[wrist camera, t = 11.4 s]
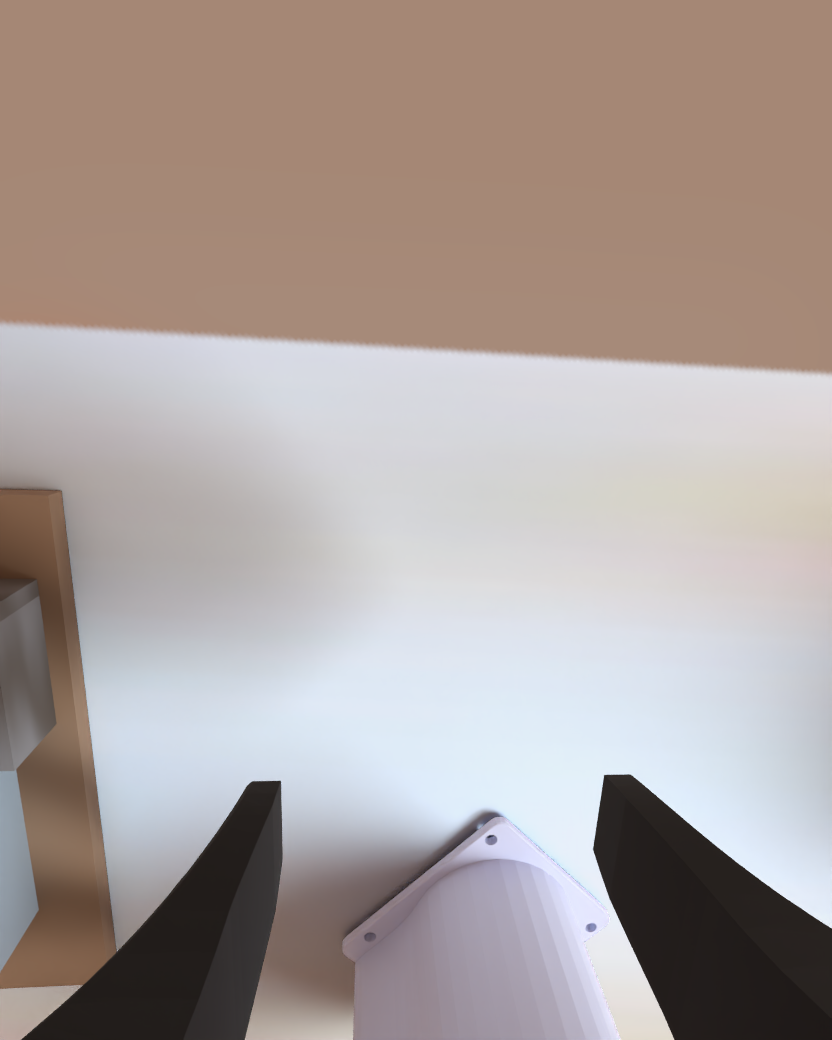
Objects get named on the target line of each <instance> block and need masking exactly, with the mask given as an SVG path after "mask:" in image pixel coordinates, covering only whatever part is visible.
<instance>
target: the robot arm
mask: <svg viewBox="0 0 832 1040" xmlns="http://www.w3.org/2000/svg"><path fill="white" fill-rule="evenodd" d="M489 835H494V836H493V837H491V838H487V836H489ZM593 850H594V854H595V857H596V860H597V863H598V866H599V869H600V872H601V875H602V878H603V881H604V884H605V887H606V890H607V892H608V895H609V898H610V900H611V903H612V905H613V907H614V909H615V912H616V914H617V916H618V918H619V920H620V922H621V925H622V927H623V929H624V931H625V933H626V935H627V938H628V940H629V942H630V944H631V946H632V948H633V950H634V952H635V955H636V957H637V959H638V961H639V963H640V965H641V967H642V969H643V972H644V974H645V976H646V978H647V980H648V982H649V984H650V986H651V989H652V991H653V993H654V995H655V997H656V999H657V1001H658V1003H659V1006H660V1008H661V1010H662V1012H663V1014H664V1016H665V1019H666V1021H667V1023H668V1026H669V1028H670V1030H671V1033H672V1035H673V1037H674V1040H832V929H831V928H830V927H828V926H827V925H825V924H823V923H822V922H820V921H819V920H817V919H816V918H814V917H813V916H811V915H810V914H808V913H807V912H805V911H804V910H802V909H801V908H799V907H798V906H796V905H795V904H793V903H792V902H790V901H789V900H787V899H786V898H784V897H783V896H781V895H780V894H779V893H777V892H776V891H774V890H773V889H772V888H770V887H769V886H767V885H766V884H765V883H763V882H762V881H761V880H759V879H758V878H757V877H755V876H754V875H753V874H751V873H750V872H749V871H747V870H746V869H745V868H743V867H742V866H741V865H739V864H738V863H737V862H735V861H734V860H733V859H732V858H730V857H729V856H728V855H727V854H725V853H724V852H723V851H722V850H720V849H719V848H718V847H717V846H715V845H714V844H713V843H712V842H710V841H709V840H708V839H707V838H705V837H704V836H703V835H702V834H701V833H699V832H698V831H697V830H696V829H695V828H693V827H692V826H691V825H690V824H689V823H687V822H686V821H685V820H684V819H683V818H682V817H680V816H679V815H678V814H677V813H676V812H674V811H673V810H672V809H671V808H670V807H669V806H667V805H666V804H665V803H664V802H663V801H662V800H660V799H659V798H658V797H657V796H656V795H655V794H653V793H652V792H651V791H650V790H649V789H648V788H646V787H645V786H644V785H643V784H642V783H640V782H639V781H638V780H637V779H635V778H634V777H633V776H632V775H604V781H603V787H602V794H601V801H600V807H599V814H598V821H597V827H596V834H595V840H594V847H593ZM281 866H282V811H281V781H253V782H251V783H250V784H249V785H248V786H247V787H246V788H245V790H244V792H243V794H242V795H241V797H240V798H239V800H238V802H237V803H236V805H235V806H234V808H233V809H232V811H231V812H230V814H229V815H228V817H227V818H226V820H225V821H224V823H223V824H222V826H221V827H220V829H219V830H218V832H217V833H216V834H215V836H214V837H213V838H212V840H211V841H210V843H209V844H208V845H207V847H206V848H205V849H204V851H203V852H202V853H201V855H200V856H199V858H198V859H197V860H196V862H195V863H194V864H193V865H192V867H191V868H190V869H189V871H188V872H187V873H186V874H185V875H184V877H183V878H182V879H181V880H180V882H179V883H178V884H177V885H176V886H175V888H174V889H173V890H172V891H171V893H170V894H169V895H168V896H167V898H166V899H165V900H164V901H163V902H162V904H161V905H160V906H159V907H158V908H157V909H156V910H155V912H154V913H153V914H152V915H151V916H150V917H149V918H148V919H147V921H146V922H145V923H144V924H143V925H142V926H141V927H140V928H139V929H138V930H137V931H136V933H135V934H134V935H133V936H132V937H131V938H130V939H129V940H128V941H127V942H126V943H125V944H124V945H123V946H122V947H121V948H120V949H119V950H118V951H117V952H116V953H115V954H114V955H113V956H112V957H111V958H110V959H109V960H108V961H107V962H106V963H105V964H104V965H103V966H102V967H101V968H100V969H99V970H98V971H97V972H96V973H95V974H94V975H93V976H92V977H91V978H90V979H89V980H88V981H87V982H86V983H85V984H84V985H83V986H82V987H81V988H80V989H78V990H77V991H76V992H75V993H74V994H73V995H72V996H71V997H70V998H69V999H68V1000H67V1001H65V1002H64V1003H63V1004H62V1005H61V1006H60V1007H59V1008H57V1009H56V1010H55V1011H54V1012H53V1013H52V1014H50V1015H49V1016H48V1017H47V1018H46V1019H45V1020H44V1021H42V1022H41V1023H40V1024H39V1025H38V1026H37V1027H35V1028H34V1029H33V1030H32V1031H31V1032H30V1033H28V1034H27V1035H26V1036H25V1037H24V1038H23V1039H22V1040H245V1036H246V1032H247V1028H248V1023H249V1019H250V1015H251V1011H252V1007H253V1003H254V998H255V994H256V990H257V986H258V982H259V978H260V973H261V969H262V965H263V961H264V957H265V953H266V948H267V944H268V940H269V936H270V932H271V927H272V923H273V919H274V914H275V909H276V902H277V895H278V888H279V881H280V874H281ZM609 921H610V916H609V914H608V911H607V909H606V908H605V907H604V906H603V905H602V904H601V903H600V902H599V901H597V900H596V899H595V898H594V897H593V896H592V895H591V894H590V893H589V892H587V891H586V890H585V889H584V888H583V887H582V886H581V885H580V884H579V883H577V882H576V881H575V880H574V879H573V878H572V877H571V876H570V875H569V874H567V873H566V872H565V871H564V870H563V869H562V868H561V867H560V866H559V865H557V864H556V863H555V862H554V861H553V860H552V859H551V858H550V857H549V856H547V855H546V854H545V853H544V852H543V851H542V850H541V849H540V848H539V847H537V846H536V845H535V844H534V843H533V842H532V841H531V840H530V839H529V838H527V837H526V836H525V835H524V834H523V833H522V832H521V831H520V830H519V829H517V828H516V827H515V826H514V825H513V824H512V823H511V822H510V821H509V820H507V819H506V818H504V817H495V818H493V819H491V820H490V821H488V822H487V823H486V824H485V825H484V826H482V827H481V828H480V829H479V830H477V831H476V832H475V833H474V834H472V835H471V836H470V837H469V838H467V839H466V840H465V841H464V842H462V843H461V844H460V845H459V846H457V847H456V848H455V849H454V850H453V851H451V852H450V853H449V854H448V855H446V856H445V857H444V858H443V859H441V860H440V861H439V862H438V863H436V864H435V865H434V866H433V867H431V868H430V869H429V870H428V871H427V872H425V873H424V874H423V875H422V876H420V877H419V878H418V879H417V880H415V881H414V882H413V883H412V884H410V885H409V886H408V887H407V888H405V889H404V890H403V891H402V892H400V893H399V894H398V895H397V896H396V897H394V898H393V899H392V900H391V901H389V902H388V903H387V904H386V905H384V906H383V907H382V908H381V909H379V910H378V911H377V912H376V913H374V914H373V915H372V916H371V917H369V918H368V919H367V920H366V921H365V922H363V923H362V924H361V925H360V926H358V927H357V928H356V929H355V930H353V931H352V932H351V933H350V934H348V935H347V936H346V937H345V938H344V939H343V942H342V952H343V954H344V955H345V956H346V957H347V958H349V959H350V960H352V961H353V962H354V963H355V988H354V1026H353V1040H621V1038H620V1035H619V1033H618V1030H617V1027H616V1025H615V1022H614V1019H613V1017H612V1014H611V1012H610V1009H609V1006H608V1004H607V1001H606V998H605V996H604V993H603V990H602V988H601V985H600V982H599V980H598V977H597V974H596V972H595V969H594V966H593V964H592V961H591V958H590V956H589V953H588V950H587V948H586V945H585V942H586V941H587V940H588V939H590V938H591V937H592V936H594V935H595V934H596V933H598V932H599V931H600V930H602V929H603V928H604V927H606V926H607V924H608V923H609ZM369 932H372V933H369Z"/></svg>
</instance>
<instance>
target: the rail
mask: <svg viewBox="0 0 832 1040" xmlns="http://www.w3.org/2000/svg"><path fill="white" fill-rule="evenodd" d="M38 910H39V908H38V902H37V896H36V890H35V883H34V877H33V871H32V865H31V859H30V852H29V846H28V840H27V834H26V828H25V822H24V815H23V809H22V803H21V797H20V791H19V784H18V778H17V772H16V770H15V771H0V972H1V970H2V969H3V967H4V965H5V964H6V962H7V961H8V959H9V957H10V956H11V954H12V953H13V951H14V949H15V948H16V946H17V944H18V943H19V941H20V940H21V938H22V936H23V935H24V933H25V931H26V930H27V928H28V927H29V925H30V923H31V922H32V920H33V918H34V917H35V915H36V914H37V912H38Z"/></svg>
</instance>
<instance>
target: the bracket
mask: <svg viewBox="0 0 832 1040" xmlns="http://www.w3.org/2000/svg"><path fill="white" fill-rule="evenodd" d="M15 770H16V772H17V778H18V784H19V791H20V797H21V803H22V809H23V815H24V822H25V828H26V834H27V840H28V846H29V852H30V859H31V865H32V871H33V877H34V883H35V890H36V896H37V902H38V908H39V910H38V912H37V914H36V915H35V917H34V918H33V920H32V922H31V923H30V925H29V927H28V928H27V930H26V931H25V933H24V935H23V936H22V938H21V940H20V941H19V943H18V944H17V946H16V948H15V949H14V951H13V953H12V954H11V956H10V957H9V959H8V961H7V962H6V964H5V965H4V967H3V969H2V970H1V972H0V989H3V988H23V987H44V986H65V985H84V984H85V983H86V982H87V981H88V980H89V979H90V978H91V977H92V976H93V975H94V974H95V973H96V972H97V971H98V970H99V969H100V968H101V967H102V966H103V965H104V964H105V963H106V962H107V961H108V960H109V959H110V958H111V957H112V956H113V955H114V954H115V953H116V945H115V937H114V928H113V920H112V911H111V903H110V895H109V886H108V878H107V870H106V861H105V853H104V844H103V836H102V828H101V819H100V811H99V802H98V794H97V786H96V777H95V769H94V761H93V752H92V744H91V735H90V727H89V719H88V710H87V702H86V693H85V685H84V677H83V668H82V660H81V651H80V643H79V635H78V626H77V618H76V610H75V601H74V593H73V584H72V576H71V568H70V559H69V551H68V542H67V534H66V526H65V517H64V509H63V501H62V492H61V491H53V490H14V489H0V771H15Z"/></svg>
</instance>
